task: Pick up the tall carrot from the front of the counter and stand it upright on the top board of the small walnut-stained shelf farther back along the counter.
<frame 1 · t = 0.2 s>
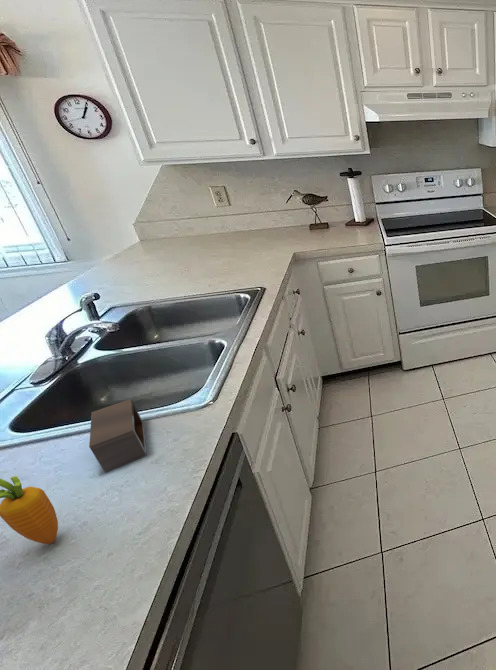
shelf: (125, 445, 88), on the worktop
carrot: (53, 543, 69), on the worktop
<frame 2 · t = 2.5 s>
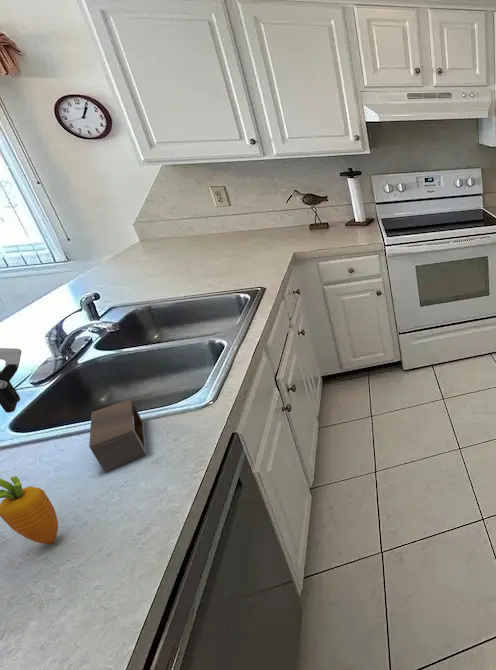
nothing on the worktop moved.
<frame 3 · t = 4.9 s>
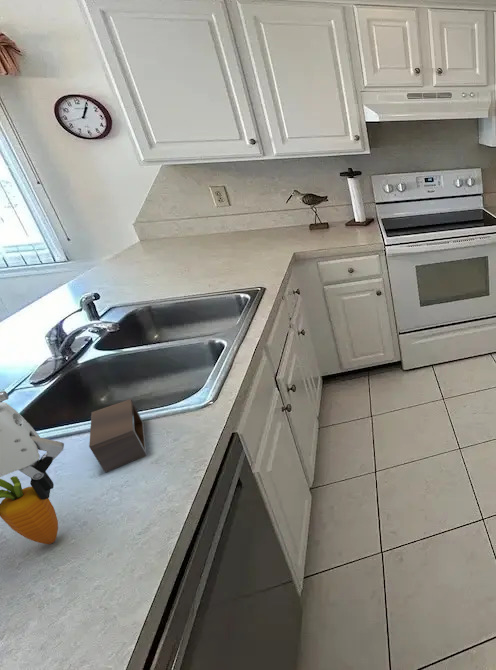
hand: (21, 502, 65), 10 cm above the worktop, tool pointing down, fingers closed on carrot, 4 cm apart
carrot: (53, 543, 69), on the worktop, touching gripper
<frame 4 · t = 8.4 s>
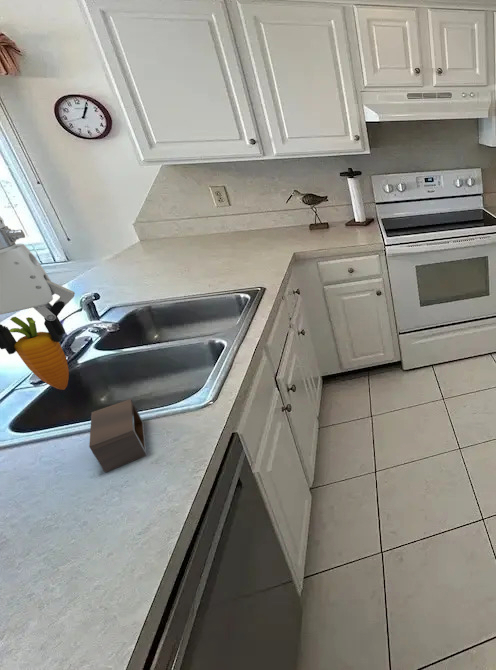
hand: (36, 343, 70), 29 cm above the worktop, tool pointing down, fingers closed on carrot, 4 cm apart
carrot: (64, 390, 75), point 19 cm above the worktop, touching gripper
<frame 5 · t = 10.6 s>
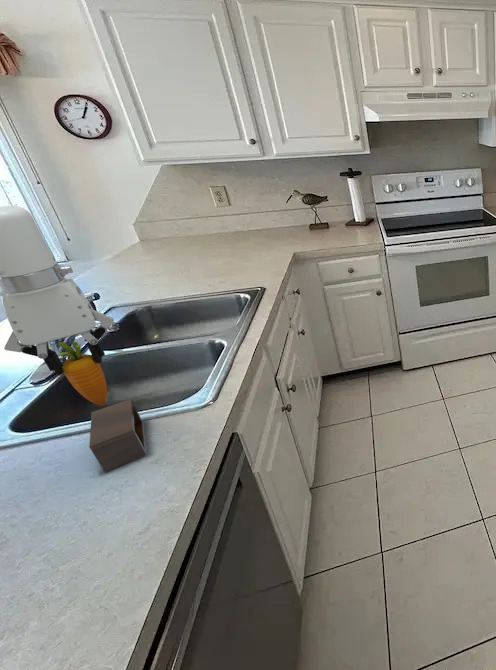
hand: (80, 365, 79), 21 cm above the worktop, tool pointing down, fingers closed on carrot, 4 cm apart
carrot: (103, 405, 83), point 11 cm above the worktop, touching gripper
when the fingers open (17 cm above the worktop, at t = 12.1 s): carrot stays where it is, resting on shelf.
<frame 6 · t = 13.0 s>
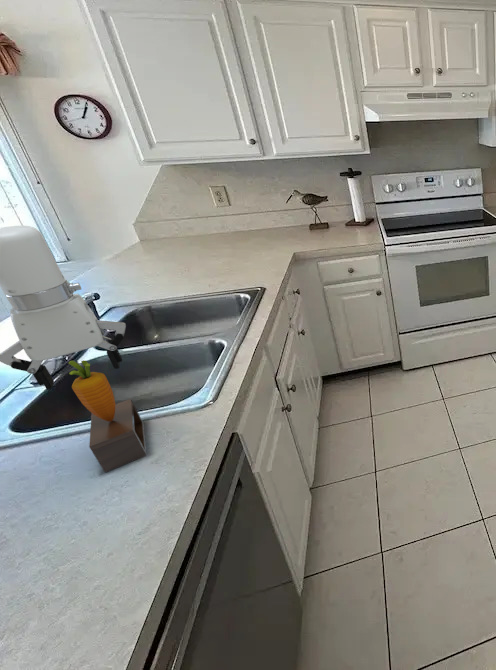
hand: (85, 375, 80), 19 cm above the worktop, tool pointing down, fingers open, 9 cm apart
carrot: (111, 421, 85), point 7 cm above the worktop, touching shelf
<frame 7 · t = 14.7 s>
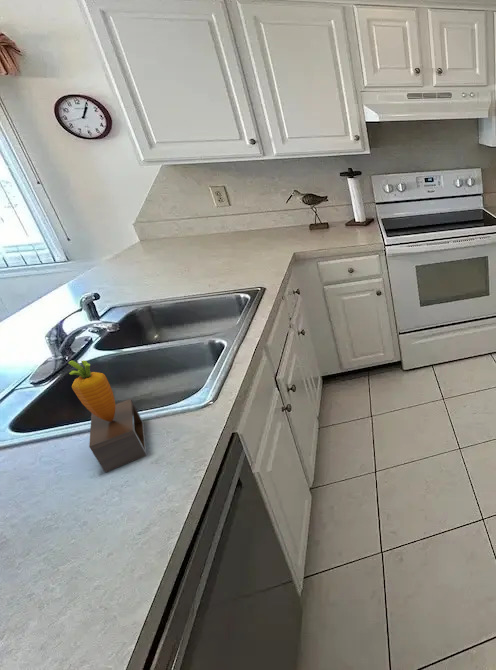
nothing on the worktop moved.
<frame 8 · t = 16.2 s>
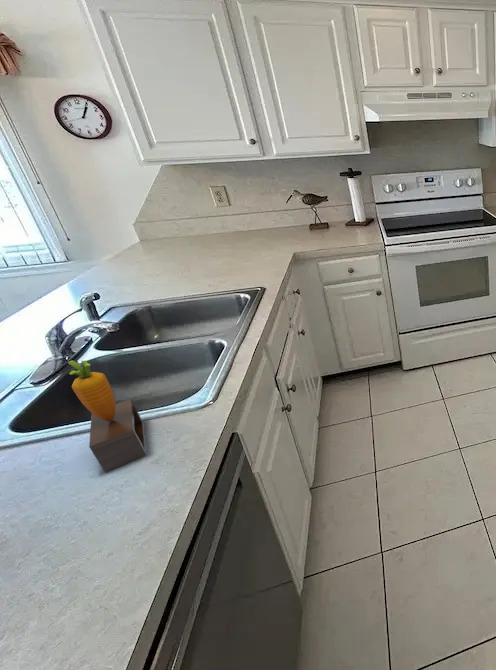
nothing on the worktop moved.
at the end: carrot inside the target area on the shelf (0.1 cm from its centre), point 6.8 cm above the shelf's base; carrot tilted 0°; the gripper is holding nothing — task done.
